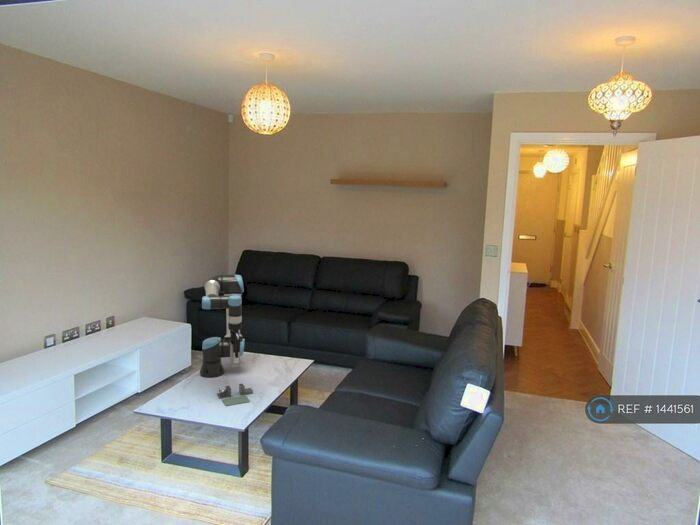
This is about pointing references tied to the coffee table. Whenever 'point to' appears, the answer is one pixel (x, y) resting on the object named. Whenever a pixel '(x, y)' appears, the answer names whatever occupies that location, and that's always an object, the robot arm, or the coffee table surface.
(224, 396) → the silver metal blocks
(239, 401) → the mat
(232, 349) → the bar
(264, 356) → the coffee table surface
